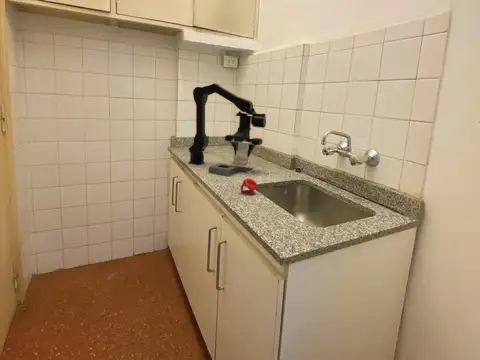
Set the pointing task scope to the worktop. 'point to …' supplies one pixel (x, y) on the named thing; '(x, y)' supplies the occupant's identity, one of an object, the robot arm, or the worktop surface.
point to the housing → (223, 169)
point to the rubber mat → (244, 169)
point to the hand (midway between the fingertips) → (242, 156)
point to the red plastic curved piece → (249, 185)
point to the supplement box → (241, 146)
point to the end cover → (241, 157)
